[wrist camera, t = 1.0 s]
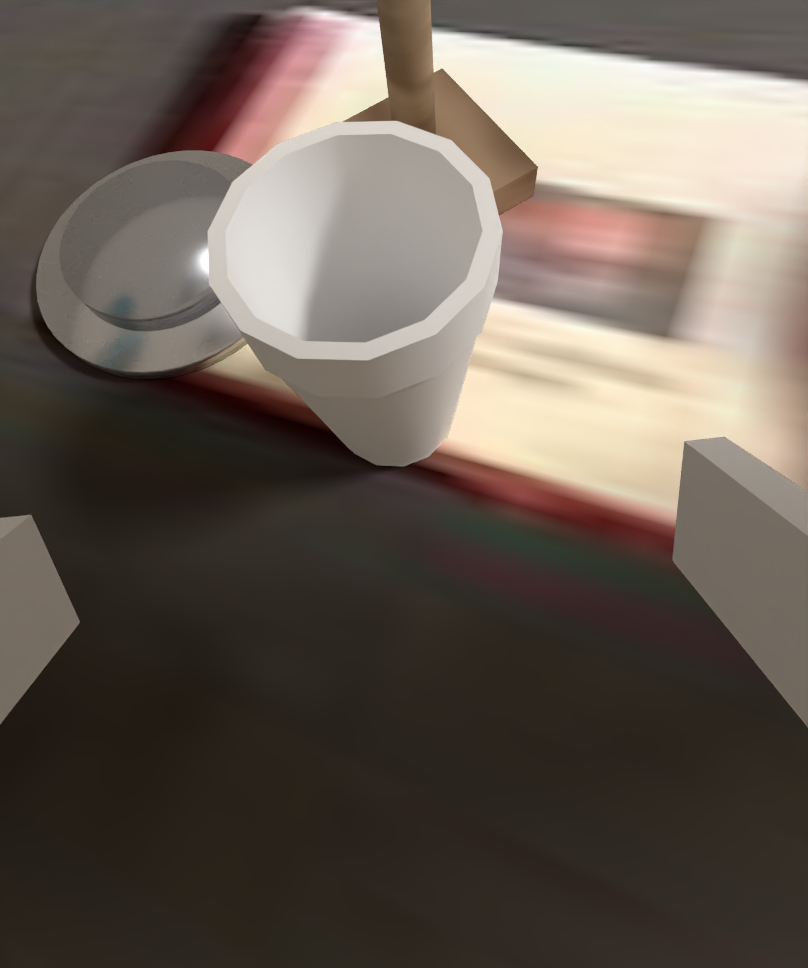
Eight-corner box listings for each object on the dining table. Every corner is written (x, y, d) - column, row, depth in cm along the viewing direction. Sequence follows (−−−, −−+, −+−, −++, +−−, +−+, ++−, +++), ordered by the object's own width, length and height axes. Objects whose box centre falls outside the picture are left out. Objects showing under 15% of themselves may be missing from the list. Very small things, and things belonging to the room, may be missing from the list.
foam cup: (275, 442, 30) (148, 284, 18) (365, 311, 32) (307, 89, 20) (429, 527, 28) (405, 412, 16) (515, 380, 30) (554, 176, 18)
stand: (443, 99, 37) (435, -155, 26) (533, 195, 34) (570, -47, 22) (311, 170, 36) (243, -60, 25) (391, 276, 33) (355, 67, 22)
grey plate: (257, 131, 38) (244, 95, 35) (335, 316, 32) (325, 288, 30) (30, 217, 37) (0, 186, 35) (71, 420, 32) (40, 399, 29)
